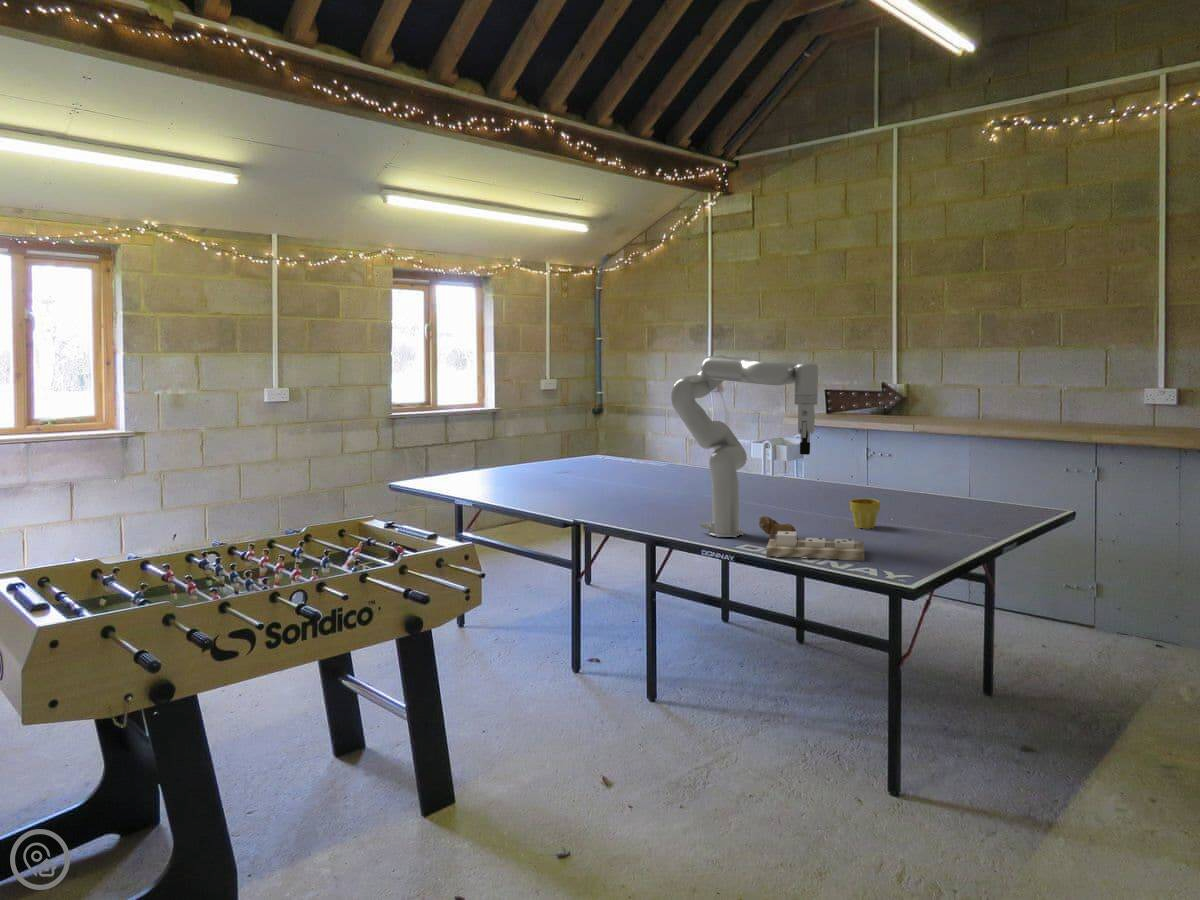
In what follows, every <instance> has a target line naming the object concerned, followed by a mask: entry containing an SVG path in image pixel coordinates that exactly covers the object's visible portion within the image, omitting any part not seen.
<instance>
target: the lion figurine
mask: <svg viewBox="0 0 1200 900" xmlns="http://www.w3.org/2000/svg"><path fill="white" fill-rule="evenodd" d="M758 526H759V528H760V529H761V530H762V531H763V532H764V533H765V534H767V535H769V537H770V539H775V536H776V535H777V533H778V531H791V532H797V530H796V529H795V527H794V526H793V524H790V523H786V524H784V523H783V524H780V523H778V522H777V521H776V520H775V519H773V518H771V517H768V516H765V515H764V516H761V517H759V522H758ZM797 540H800V539H799V537H798V536H797Z"/></svg>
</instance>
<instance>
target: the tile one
mask: <svg viewBox="0 0 1200 900" xmlns="http://www.w3.org/2000/svg"><path fill="white" fill-rule="evenodd" d="M797 533H798V532H797V531H796V532H794V531H793V532H791V531H778V533H777V534H776V539H777V546H793V547H796V545H797V537H798V534H797Z"/></svg>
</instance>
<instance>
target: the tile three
mask: <svg viewBox="0 0 1200 900" xmlns="http://www.w3.org/2000/svg"><path fill="white" fill-rule="evenodd" d="M834 541H835V543H834V548H852V549H854V542H855V539H853V538H849V539H847V538H846V539H845V538H834Z"/></svg>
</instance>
